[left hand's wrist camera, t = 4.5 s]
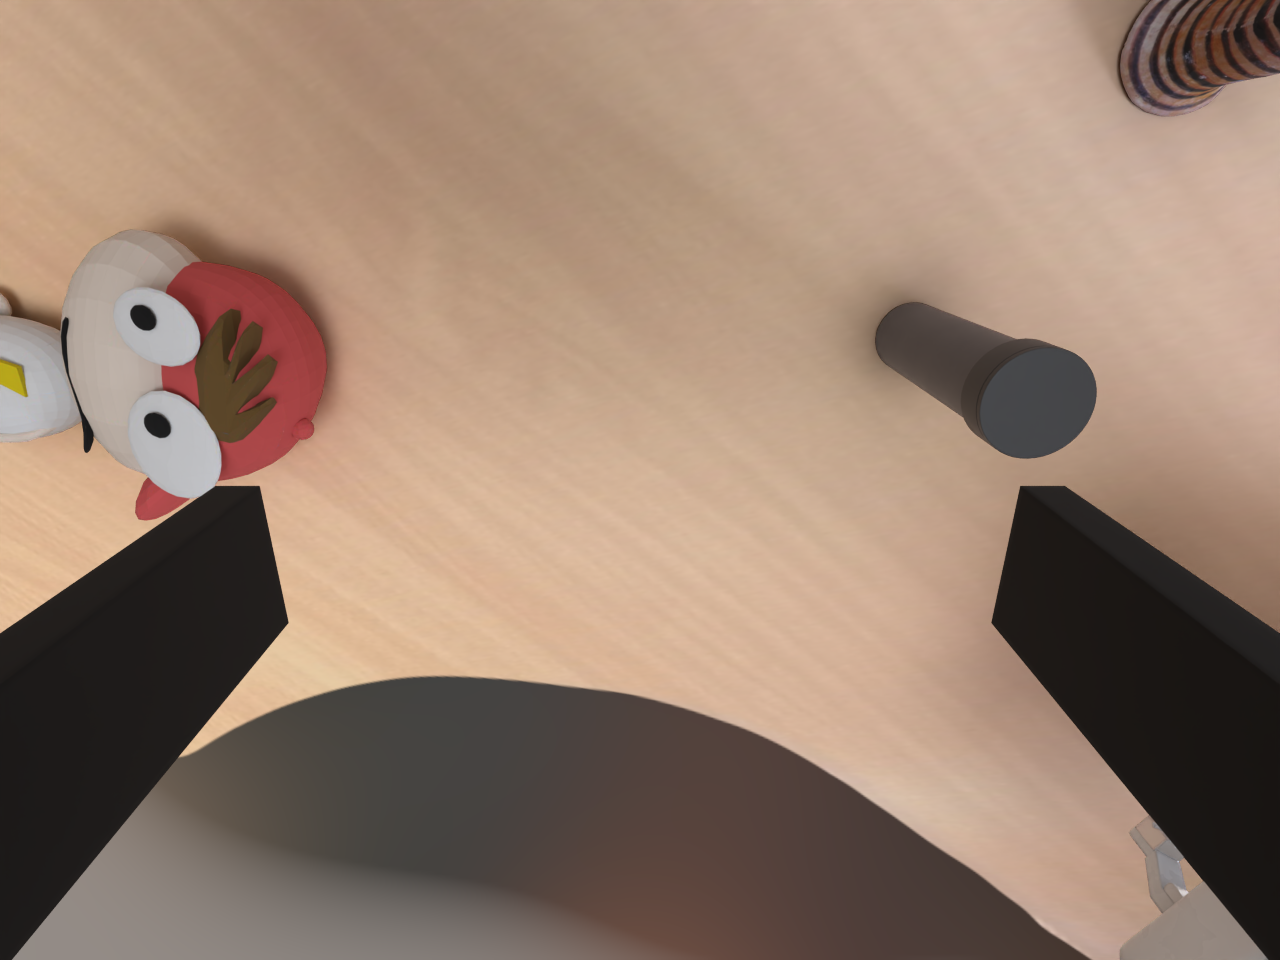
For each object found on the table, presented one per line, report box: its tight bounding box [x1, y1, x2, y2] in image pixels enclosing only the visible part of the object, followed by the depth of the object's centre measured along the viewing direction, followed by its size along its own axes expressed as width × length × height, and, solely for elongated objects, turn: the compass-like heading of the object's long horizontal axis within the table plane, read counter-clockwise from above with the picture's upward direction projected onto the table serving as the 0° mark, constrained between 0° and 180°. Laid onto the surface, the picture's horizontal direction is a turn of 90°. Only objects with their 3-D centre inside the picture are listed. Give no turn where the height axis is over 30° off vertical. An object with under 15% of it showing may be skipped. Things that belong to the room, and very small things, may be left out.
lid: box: [961, 339, 1097, 459], centre depth 33 cm, size 5×5×2 cm
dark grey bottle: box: [876, 303, 1017, 418], centre depth 39 cm, size 4×4×16 cm
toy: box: [0, 229, 327, 520], centre depth 44 cm, size 18×10×30 cm
